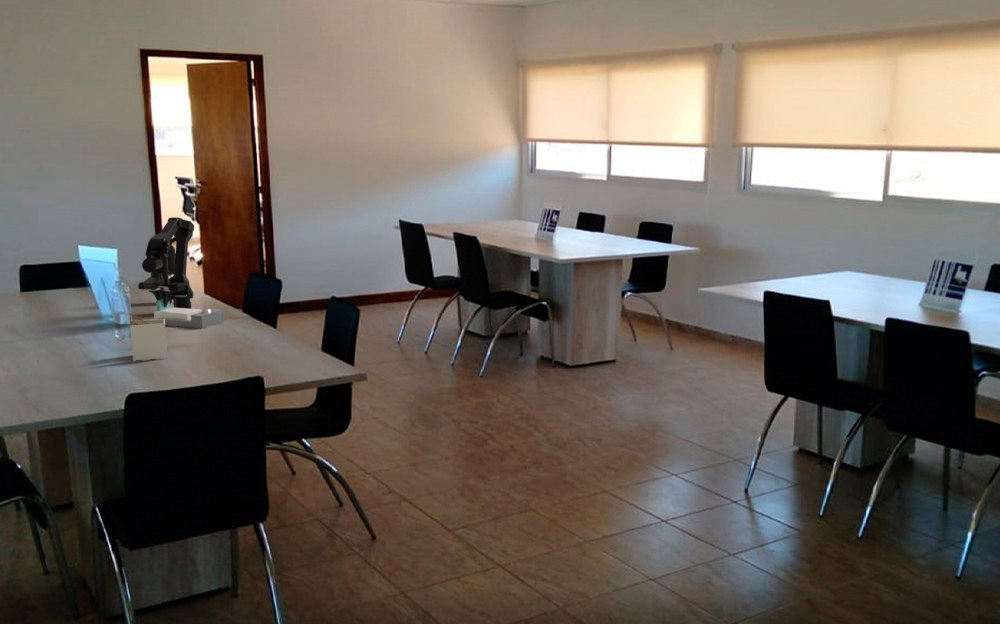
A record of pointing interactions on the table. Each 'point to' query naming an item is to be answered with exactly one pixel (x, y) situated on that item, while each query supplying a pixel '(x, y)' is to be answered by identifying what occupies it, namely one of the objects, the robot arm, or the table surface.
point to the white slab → (173, 312)
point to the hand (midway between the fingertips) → (163, 307)
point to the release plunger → (206, 310)
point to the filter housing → (198, 319)
